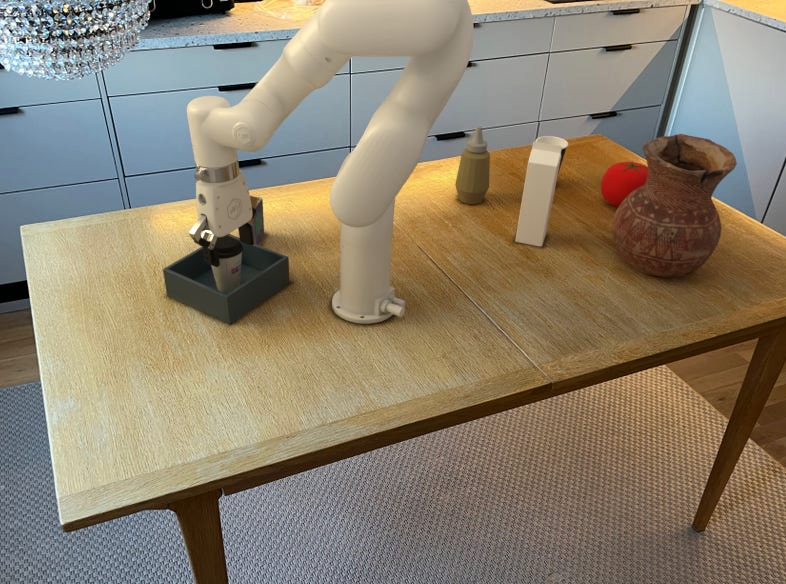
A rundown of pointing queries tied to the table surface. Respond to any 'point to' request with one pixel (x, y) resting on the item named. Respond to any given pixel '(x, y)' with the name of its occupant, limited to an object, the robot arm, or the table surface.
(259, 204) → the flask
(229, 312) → the tub
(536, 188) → the milk
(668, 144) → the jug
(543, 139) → the dixie cup
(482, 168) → the squeeze bottle
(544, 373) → the table surface
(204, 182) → the robot arm
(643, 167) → the tomato
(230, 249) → the coffee cup
